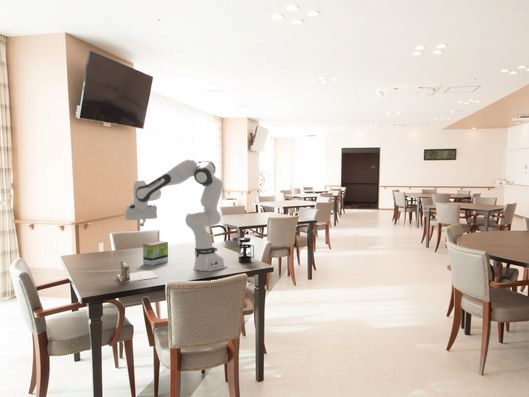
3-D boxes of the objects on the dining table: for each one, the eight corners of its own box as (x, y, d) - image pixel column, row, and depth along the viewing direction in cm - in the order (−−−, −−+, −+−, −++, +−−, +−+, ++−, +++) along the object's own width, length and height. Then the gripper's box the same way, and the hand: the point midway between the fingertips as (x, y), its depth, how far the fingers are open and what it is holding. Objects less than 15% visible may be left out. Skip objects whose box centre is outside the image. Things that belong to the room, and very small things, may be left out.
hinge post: (126, 274, 234) (125, 260, 234) (127, 275, 231) (126, 261, 230) (119, 275, 233) (118, 261, 232) (120, 276, 229) (119, 262, 228)
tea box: (153, 265, 256) (152, 244, 256) (142, 264, 261) (142, 243, 260) (168, 261, 270) (168, 241, 269) (158, 260, 274) (158, 240, 274)
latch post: (127, 280, 221) (126, 265, 220) (128, 282, 217) (128, 267, 217) (120, 281, 219) (119, 266, 218) (121, 283, 215) (120, 268, 215)
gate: (122, 275, 229) (122, 262, 229) (125, 275, 230) (124, 262, 229) (127, 281, 217) (126, 267, 216) (129, 280, 218) (129, 266, 217)
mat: (150, 270, 243) (150, 270, 243) (157, 277, 226) (157, 277, 226) (116, 275, 232) (116, 274, 232) (121, 283, 216) (121, 282, 216)
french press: (237, 263, 260) (237, 231, 259) (237, 260, 269) (236, 229, 268) (254, 263, 262) (254, 230, 260) (253, 260, 271) (252, 228, 269)
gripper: (155, 204, 253) (156, 224, 253) (124, 205, 242) (124, 226, 243) (157, 204, 247) (158, 225, 248) (125, 206, 237) (126, 227, 238)
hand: (141, 226), depth 246 cm, fingers closed
